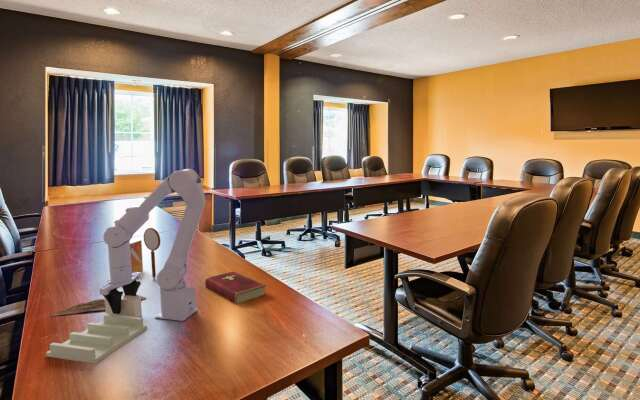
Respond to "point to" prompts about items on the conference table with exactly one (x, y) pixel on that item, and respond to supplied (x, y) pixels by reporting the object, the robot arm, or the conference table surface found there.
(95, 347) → the rack
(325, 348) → the conference table surface
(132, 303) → the beige rectangular block
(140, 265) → the small box
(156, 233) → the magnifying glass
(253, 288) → the hardcover book
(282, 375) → the conference table surface
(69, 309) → the wooden fragment
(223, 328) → the conference table surface
